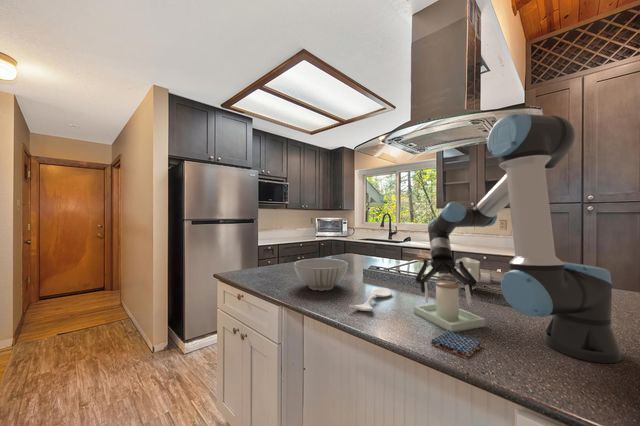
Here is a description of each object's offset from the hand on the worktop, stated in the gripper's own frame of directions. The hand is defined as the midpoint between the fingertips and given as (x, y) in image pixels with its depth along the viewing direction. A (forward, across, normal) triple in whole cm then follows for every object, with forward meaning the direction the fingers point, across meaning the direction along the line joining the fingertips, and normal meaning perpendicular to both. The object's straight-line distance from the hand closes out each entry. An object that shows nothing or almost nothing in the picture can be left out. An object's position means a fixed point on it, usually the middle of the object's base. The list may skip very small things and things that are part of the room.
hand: (447, 302), depth 96 cm
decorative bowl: (-17, +53, -27) cm, 62 cm away
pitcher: (-27, -16, -37) cm, 48 cm away
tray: (+3, 0, -6) cm, 7 cm away
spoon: (-5, +26, -15) cm, 30 cm away
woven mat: (+18, +1, +7) cm, 19 cm away
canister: (+3, 0, -6) cm, 6 cm away
